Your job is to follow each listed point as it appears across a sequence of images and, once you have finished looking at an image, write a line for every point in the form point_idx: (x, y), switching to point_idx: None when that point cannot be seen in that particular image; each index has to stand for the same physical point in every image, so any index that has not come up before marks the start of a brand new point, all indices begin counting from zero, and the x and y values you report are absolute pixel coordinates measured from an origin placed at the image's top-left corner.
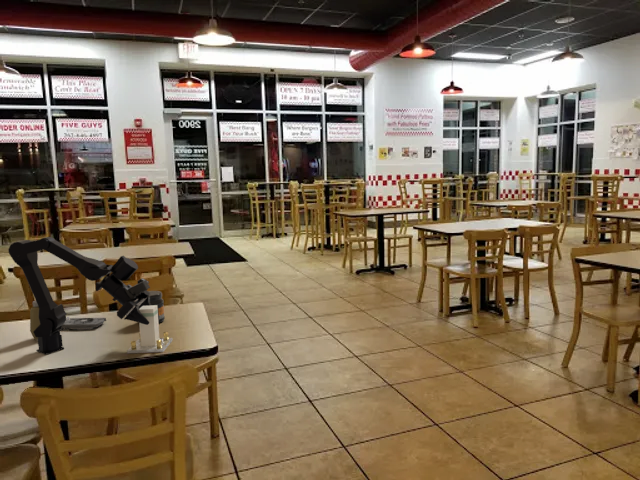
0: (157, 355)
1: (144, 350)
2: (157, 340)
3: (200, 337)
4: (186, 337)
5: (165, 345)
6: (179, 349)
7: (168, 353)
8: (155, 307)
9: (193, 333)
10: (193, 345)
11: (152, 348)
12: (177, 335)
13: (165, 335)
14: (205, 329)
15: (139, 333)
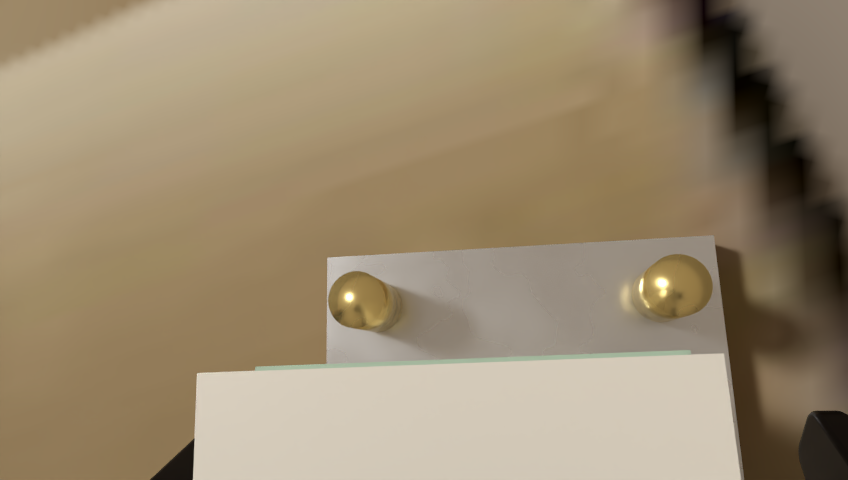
0: (814, 267)
1: (737, 452)
2: (677, 301)
3: (279, 20)
4: (261, 150)
5: (584, 247)
6: (619, 100)
7: (745, 170)
8: (417, 365)
9: (154, 122)
10: (504, 7)
11: None
12: (187, 260)
13: (388, 298)
14: (60, 50)
15: None
